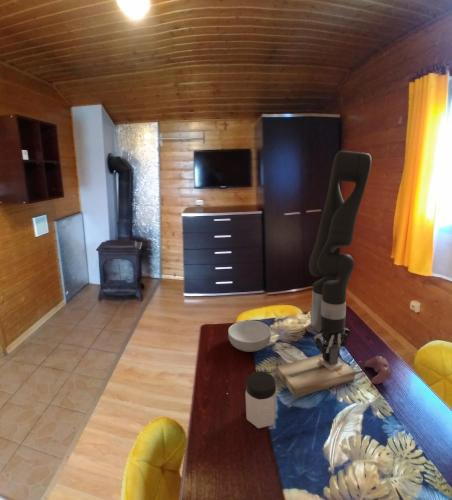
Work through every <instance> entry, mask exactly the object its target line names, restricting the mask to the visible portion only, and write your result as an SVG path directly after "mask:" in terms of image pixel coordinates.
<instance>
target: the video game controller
mask: <svg viewBox="0 0 452 500" xmlns="http://www.w3.org/2000/svg"><path fill="white" fill-rule="evenodd" d="M364 366H365V367H366V368H374V367H375V368H374V372H375V373H377V375H375V376H374V377H372V379H371V383H372V384H373V385H378V384H381V383H384V382H386V381H387V380H389V379H390V378H391V376H392V370H391V369H390V365H389V362H388V360H387V359H386V358H385V357H383V356H381V355H376V356H374V357H373V358H371V359H368V360H366V361H365V363H364Z"/></svg>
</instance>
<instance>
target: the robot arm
mask: <svg viewBox="0 0 452 500" xmlns="http://www.w3.org/2000/svg"><path fill="white" fill-rule="evenodd" d="M371 169H372V156H371V154H370V153H367V152H359V151H351V150H350V151H349V150H339V151H338V152H337V153H336V154H335V157H334V159H333V162H332V165H331V172H330V178H329V182H328V183H329V184H328V191H327V195H326V199H325V203H324V207H323V210H322V214H321V218H320V222H319V226H318V231H317V236H316V241H315V242H314V246H313V249H312V250H311V251H312V252H311V254H310V257H309V262H308V268H309V269H308V270H309V273H310V274H311V275H312V276H313V277H316V278H317V277H321V278H320V279H319V280H317V281H315V282H313V284H312V293H311V294H312V295H311V297H312V299H311V304H310V324H309V325H311V329H312V330H313V331H315V332H318V333H319V334H317V335H315V334H313V335H312V340H313V342H314V344H315V347H316V348H317V350H319V351H320V352H321V354H322V358H323V359H324V360H325V361H326V362H329V350H330V347H331V346H332V342H333V343H334V344H335V345H336V346H338V347H339V351H338V357H339V358H340V350H341V348H342V347H343V348H344V347H345V346H347V343H348V340H349V337H350V335H351V333H352V331H351V330H350V329H348V328H347V327H345V326H346V313H347V303H346V300H347V299H346V298H347V288H348V285H349V281H350V278H351V276H352V274H353V271H354V269H355V260H354V258H353V257H352V255H350V254H347V253H338V252H335V251H336V250H337V249H338V248H346V247H350V246H351V244H352V242H353V238H354V232H355V228H356V227H355V226H356V225H355V224H356V220H357V216H358V213H359V209H360V207H361V204H362V200H363V197H364V194H365V190H366V186H367V184H368V179H369V176H370V173H371ZM341 182H346V183H348V182H349V183H355V185H354V187H353V189H352V192H351V194H350V195H349V196H348V197H347V198H346V199H345V200H344V198H343V195H342V191H341V188H340V183H341Z"/></svg>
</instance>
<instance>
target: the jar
mask: <svg viewBox="0 0 452 500" xmlns="http://www.w3.org/2000/svg"><path fill="white" fill-rule="evenodd" d="M276 383H277V382H276V379H275V377H274V376H273V375H272V374H271V373H270V372H269V373H268V372H266V371H255V372H252V373H250V374H249V375H248V376H247V377H246V380H245V384H246V385H245V389H246V390H245V415H246V418H245V419H246V420H247V421H248V422H250V423H251V424H252V425H253V426H255V427H256V428H257V429H263V428H267V427H271V426H273V425H275V421H276V417H277V386H276Z"/></svg>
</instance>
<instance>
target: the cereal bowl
mask: <svg viewBox="0 0 452 500" xmlns="http://www.w3.org/2000/svg"><path fill="white" fill-rule="evenodd" d="M227 335H228V340H229V342H230V344H231V345H232V347H234V348H235V349H237V350H239V351H242V352H247V353H248V352H249V353H250V352H251V353H252V352H257V351H261V350H263V349H265V348H266V347H267V346H268V345H269V344H270V341H271V337H272V330H271V328H270V326H268V325H267V323H265V322H263V321H259V320H251V319H249V320H240V321H237V322H235V323H233V324H232V325H230V326H229V327H228V332H227Z"/></svg>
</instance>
